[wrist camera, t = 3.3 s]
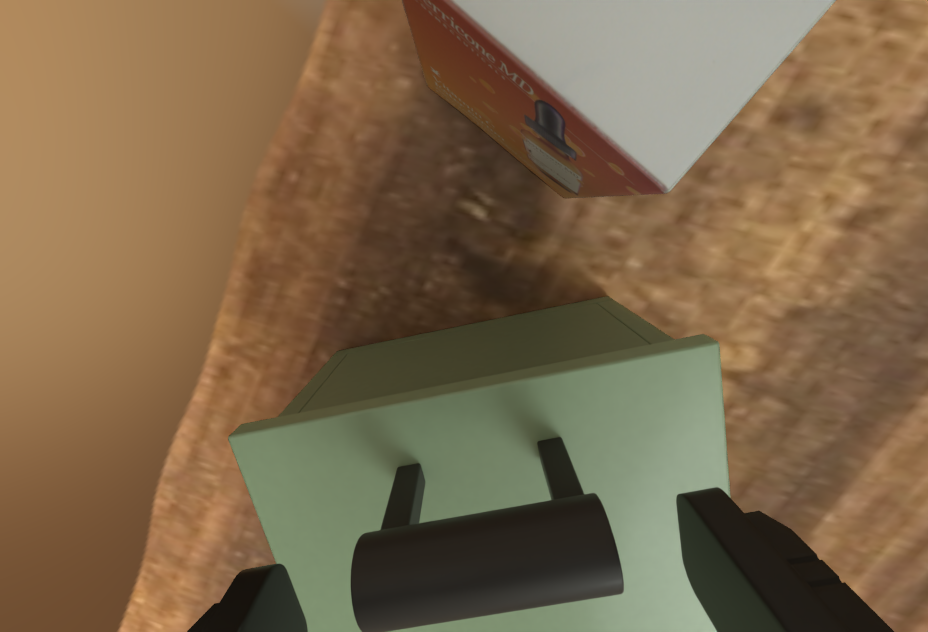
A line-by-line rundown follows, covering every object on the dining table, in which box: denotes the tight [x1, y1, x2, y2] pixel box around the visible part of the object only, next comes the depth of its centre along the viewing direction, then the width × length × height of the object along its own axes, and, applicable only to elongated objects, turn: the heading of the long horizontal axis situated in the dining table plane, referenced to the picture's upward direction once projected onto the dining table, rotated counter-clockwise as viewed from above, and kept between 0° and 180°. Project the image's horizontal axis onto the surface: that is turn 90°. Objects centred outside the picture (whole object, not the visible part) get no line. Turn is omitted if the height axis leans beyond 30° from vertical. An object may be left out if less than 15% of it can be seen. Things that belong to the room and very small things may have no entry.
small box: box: [402, 0, 836, 198], centre depth 13 cm, size 8×6×10 cm
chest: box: [278, 296, 674, 417], centre depth 19 cm, size 16×14×9 cm
